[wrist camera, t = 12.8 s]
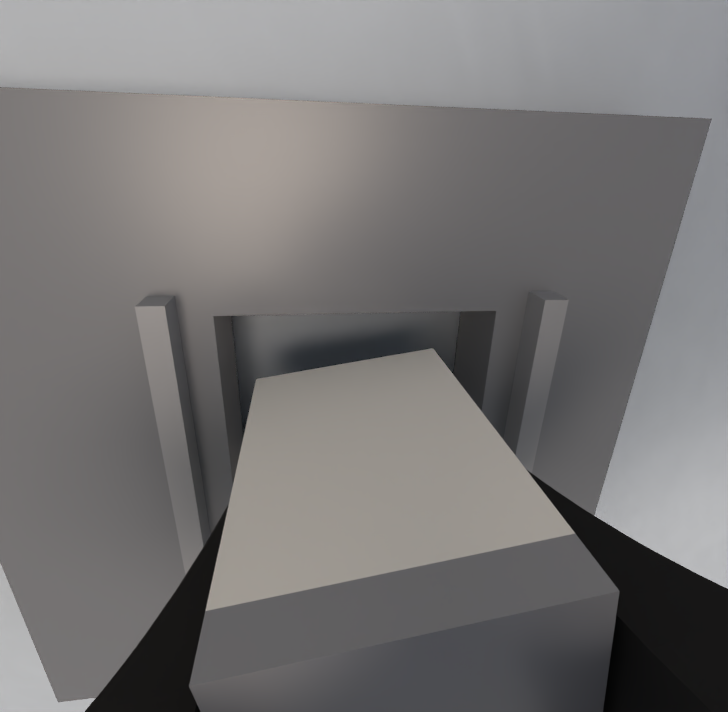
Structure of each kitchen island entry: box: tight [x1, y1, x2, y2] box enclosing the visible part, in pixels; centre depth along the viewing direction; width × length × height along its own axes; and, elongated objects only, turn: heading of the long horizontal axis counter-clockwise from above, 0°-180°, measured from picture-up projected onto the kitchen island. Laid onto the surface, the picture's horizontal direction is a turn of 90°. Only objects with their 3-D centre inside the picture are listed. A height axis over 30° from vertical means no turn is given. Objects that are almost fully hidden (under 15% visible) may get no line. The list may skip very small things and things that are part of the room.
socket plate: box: [0, 87, 711, 702], centre depth 13 cm, size 18×18×3 cm
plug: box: [189, 348, 619, 712], centre depth 8 cm, size 4×4×7 cm
